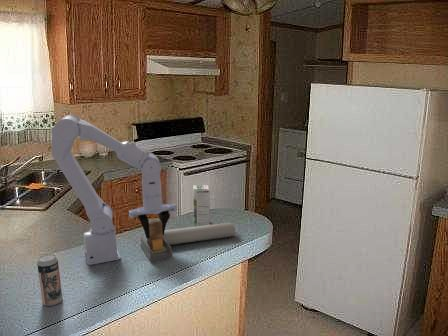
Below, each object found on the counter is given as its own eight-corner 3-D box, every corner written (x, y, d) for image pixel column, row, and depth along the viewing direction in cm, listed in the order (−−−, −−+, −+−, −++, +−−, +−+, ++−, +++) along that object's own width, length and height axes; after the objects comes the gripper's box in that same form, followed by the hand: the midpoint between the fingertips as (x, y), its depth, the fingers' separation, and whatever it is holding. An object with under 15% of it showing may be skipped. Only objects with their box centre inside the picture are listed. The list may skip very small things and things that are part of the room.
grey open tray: (172, 257, 129) (172, 246, 128) (150, 262, 126) (149, 251, 125) (161, 242, 139) (161, 232, 139) (140, 246, 137) (140, 236, 136)
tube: (231, 220, 146) (159, 229, 139) (236, 221, 141) (161, 230, 134) (233, 236, 146) (160, 246, 139) (237, 237, 141) (162, 247, 133)
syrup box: (193, 222, 156) (192, 184, 153) (209, 221, 157) (208, 184, 153) (194, 228, 151) (192, 189, 147) (210, 227, 151) (209, 188, 148)
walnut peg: (150, 248, 130) (149, 224, 128) (147, 243, 134) (145, 219, 132) (163, 245, 132) (162, 222, 130) (159, 240, 135) (158, 217, 133)
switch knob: (163, 248, 130) (162, 240, 130) (153, 250, 129) (152, 242, 128) (161, 247, 132) (161, 238, 131) (152, 248, 131) (151, 240, 130)
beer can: (48, 309, 103) (41, 264, 100) (38, 302, 106) (32, 258, 103) (66, 301, 106) (61, 257, 103) (57, 294, 109) (51, 251, 106)
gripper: (131, 201, 122) (134, 244, 126) (179, 194, 128) (180, 236, 131) (126, 194, 129) (129, 236, 132) (172, 188, 134) (174, 228, 138)
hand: (154, 235), depth 132 cm, fingers closed on walnut peg, 4 cm apart
